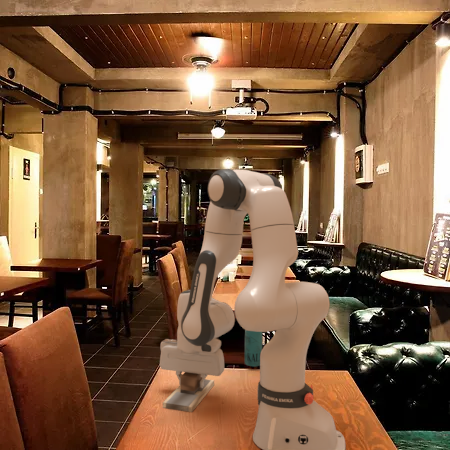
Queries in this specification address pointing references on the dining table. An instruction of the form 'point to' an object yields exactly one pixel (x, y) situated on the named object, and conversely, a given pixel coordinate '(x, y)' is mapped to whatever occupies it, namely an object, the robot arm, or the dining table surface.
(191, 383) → the block
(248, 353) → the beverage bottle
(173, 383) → the dining table surface
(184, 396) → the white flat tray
